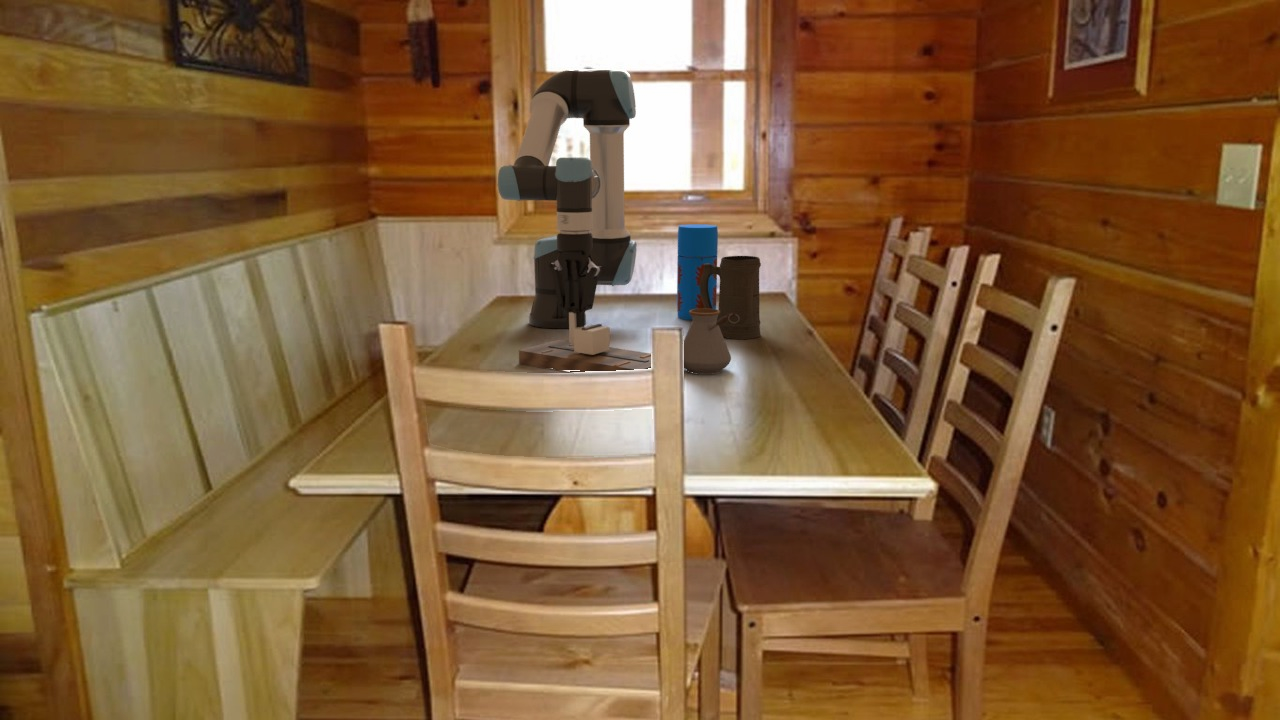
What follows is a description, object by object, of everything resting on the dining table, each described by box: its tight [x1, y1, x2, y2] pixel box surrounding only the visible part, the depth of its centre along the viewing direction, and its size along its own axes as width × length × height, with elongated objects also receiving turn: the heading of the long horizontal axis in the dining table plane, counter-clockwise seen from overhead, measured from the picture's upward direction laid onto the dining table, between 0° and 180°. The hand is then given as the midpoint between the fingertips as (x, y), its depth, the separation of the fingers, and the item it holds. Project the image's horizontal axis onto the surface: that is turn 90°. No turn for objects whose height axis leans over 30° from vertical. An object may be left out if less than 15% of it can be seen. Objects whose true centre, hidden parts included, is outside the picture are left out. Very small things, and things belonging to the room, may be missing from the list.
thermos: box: [676, 224, 719, 321], centre depth 258 cm, size 11×11×25 cm
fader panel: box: [518, 339, 652, 372], centre depth 201 cm, size 32×14×3 cm, turn 55°
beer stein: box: [700, 255, 762, 340], centre depth 234 cm, size 15×11×20 cm
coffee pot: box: [683, 308, 739, 376], centre depth 193 cm, size 21×12×15 cm, turn 18°
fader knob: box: [574, 323, 611, 355], centre depth 201 cm, size 5×6×5 cm
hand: (576, 341), depth 203 cm, fingers closed
